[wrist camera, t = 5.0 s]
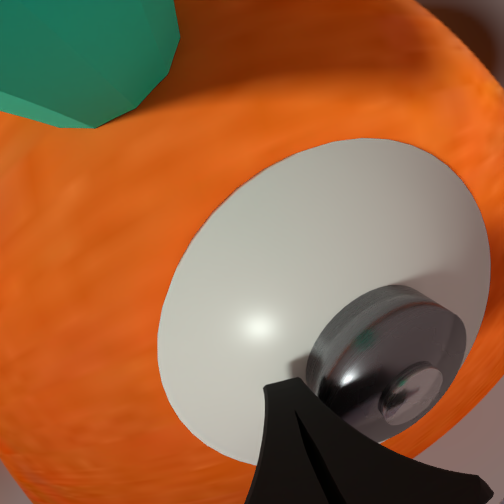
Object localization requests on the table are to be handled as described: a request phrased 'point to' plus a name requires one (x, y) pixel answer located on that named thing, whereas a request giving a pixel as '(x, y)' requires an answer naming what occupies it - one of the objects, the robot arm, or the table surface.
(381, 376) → the cover
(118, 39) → the candle
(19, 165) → the table surface
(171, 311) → the cream flat disc
